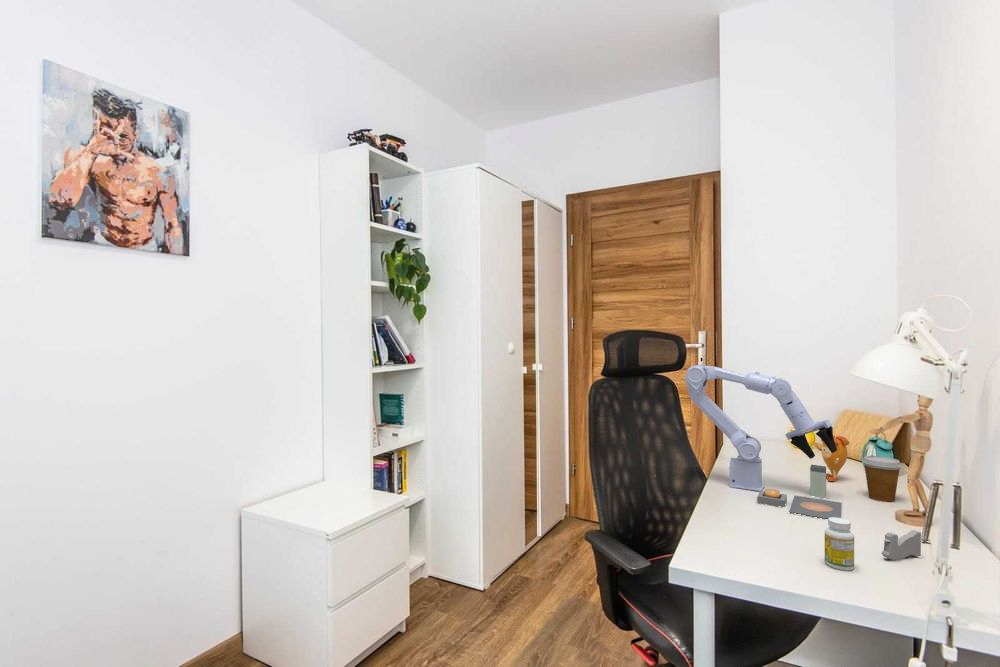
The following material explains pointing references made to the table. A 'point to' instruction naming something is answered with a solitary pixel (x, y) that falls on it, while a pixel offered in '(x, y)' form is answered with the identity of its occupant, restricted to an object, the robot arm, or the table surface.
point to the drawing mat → (815, 507)
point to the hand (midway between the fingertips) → (823, 454)
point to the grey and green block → (818, 481)
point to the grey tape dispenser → (902, 545)
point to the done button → (772, 493)
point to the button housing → (772, 499)
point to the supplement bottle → (839, 544)
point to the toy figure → (835, 456)
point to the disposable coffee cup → (881, 477)
